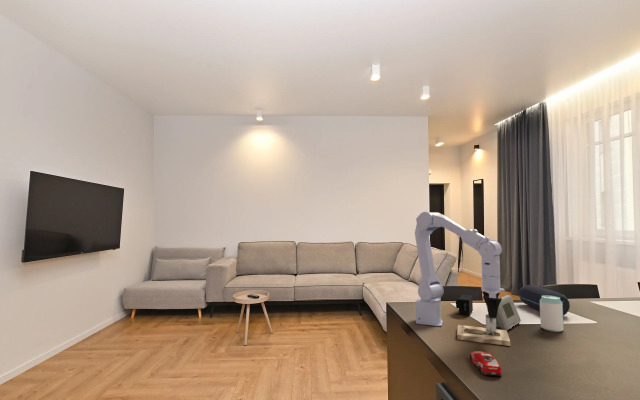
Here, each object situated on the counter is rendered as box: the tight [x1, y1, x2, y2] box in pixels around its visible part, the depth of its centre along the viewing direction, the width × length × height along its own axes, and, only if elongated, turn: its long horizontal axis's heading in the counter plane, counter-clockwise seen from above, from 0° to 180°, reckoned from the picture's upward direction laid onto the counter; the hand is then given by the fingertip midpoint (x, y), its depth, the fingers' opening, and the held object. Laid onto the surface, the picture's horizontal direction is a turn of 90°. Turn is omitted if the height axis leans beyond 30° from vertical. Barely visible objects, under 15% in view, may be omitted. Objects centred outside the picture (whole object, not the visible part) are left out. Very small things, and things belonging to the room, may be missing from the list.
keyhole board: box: [456, 324, 511, 347], centre depth 118 cm, size 16×12×2 cm
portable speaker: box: [518, 284, 571, 316], centre depth 153 cm, size 25×10×10 cm, turn 0°
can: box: [539, 296, 565, 333], centre depth 126 cm, size 7×7×12 cm
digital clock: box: [496, 294, 522, 331], centre depth 131 cm, size 16×9×11 cm, turn 122°
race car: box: [469, 350, 503, 377], centre depth 94 cm, size 13×5×4 cm, turn 171°
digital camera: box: [455, 294, 474, 317], centre depth 150 cm, size 10×5×7 cm, turn 149°
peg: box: [485, 313, 497, 336], centre depth 117 cm, size 3×3×8 cm
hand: (491, 314), depth 118 cm, fingers open, 7 cm apart
